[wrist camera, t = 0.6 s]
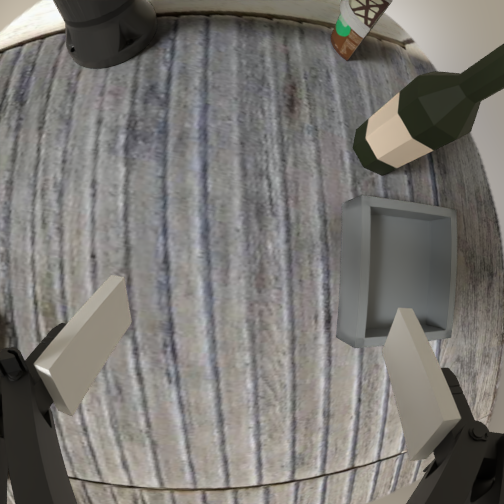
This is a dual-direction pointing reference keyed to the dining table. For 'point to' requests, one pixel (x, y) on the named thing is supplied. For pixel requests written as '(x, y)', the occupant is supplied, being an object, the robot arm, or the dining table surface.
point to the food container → (355, 24)
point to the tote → (395, 268)
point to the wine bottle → (427, 114)
